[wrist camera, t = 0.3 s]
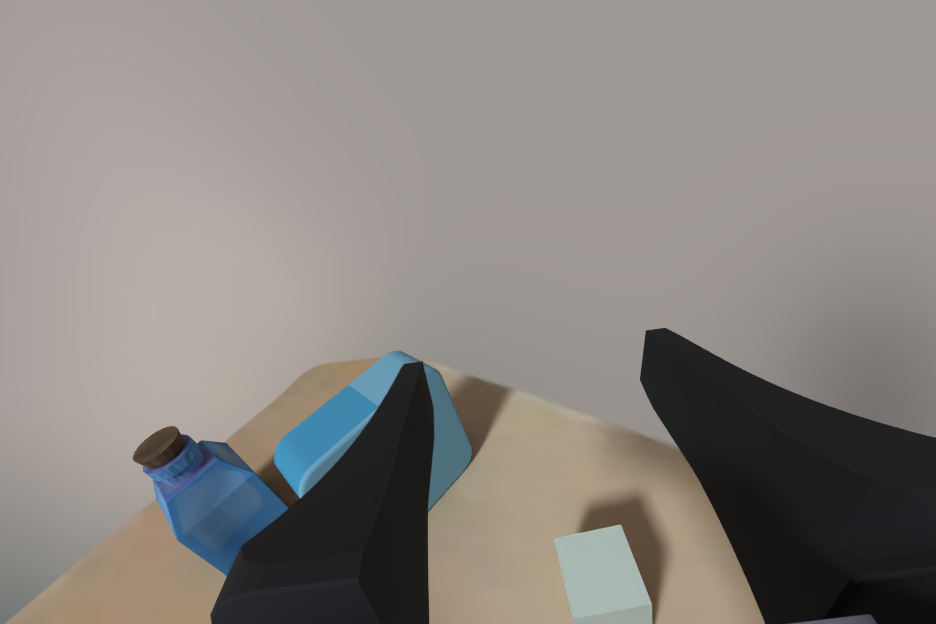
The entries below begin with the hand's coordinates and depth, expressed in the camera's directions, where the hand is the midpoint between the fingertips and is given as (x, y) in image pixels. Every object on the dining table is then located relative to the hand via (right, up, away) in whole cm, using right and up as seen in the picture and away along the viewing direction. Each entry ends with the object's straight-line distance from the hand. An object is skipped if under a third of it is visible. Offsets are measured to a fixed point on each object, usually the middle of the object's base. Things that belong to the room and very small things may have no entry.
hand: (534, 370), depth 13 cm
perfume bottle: (-22, -18, +23) cm, 37 cm away
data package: (-7, -14, +21) cm, 26 cm away
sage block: (+6, -16, +12) cm, 21 cm away
